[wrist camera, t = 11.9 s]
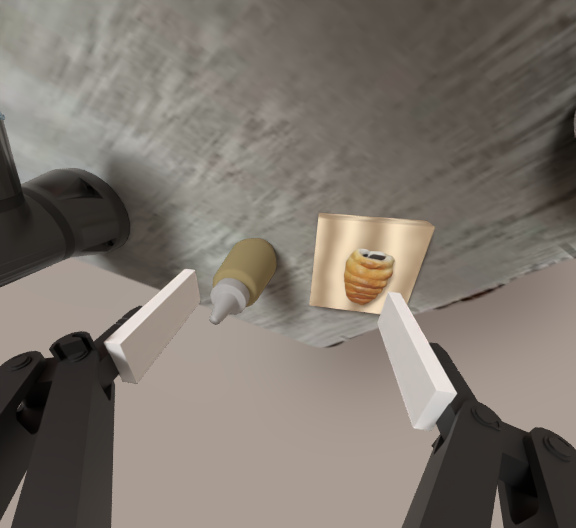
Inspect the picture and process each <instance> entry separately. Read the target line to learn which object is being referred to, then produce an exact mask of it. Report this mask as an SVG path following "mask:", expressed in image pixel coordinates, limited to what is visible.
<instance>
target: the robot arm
mask: <svg viewBox="0 0 576 528" xmlns="http://www.w3.org/2000/svg"><path fill="white" fill-rule="evenodd" d="M3 120H5V117H4V115H3V114H2V113H1V112H0V287H2V286H5V285H7V284H9V283H11V282H14V281H16V280H18V279H21V278H23V277H26V276H28V275H30V274H32V273H35V272H37V271H39V270H41V269H44V268H46V267H49V266H51V265H53V264H55V263H58V262H60V261H62V260H65V259H67V258H70V257H78V256H86V255H95V254H103V253H107V252H110V251H112V250H114V249H117V248H119V247H120V246H122V245H123V244H124V243H125V242H126V240H127V238H128V235H129V219H128V215H127V213H126V210H125V208H124V206H123V204H122V202H121V200H120V199H119V197H118V196H117V195H116V193H115V192H114V191H113V190H112V189H111V188H110V187H109V186H108V185H107V184H106V183H105V182H104V181H102V180H101V179H100V178H98V177H97V176H95V175H93V174H92V173H90V172H87V171H85V170H81V169H76V168H68V169H56V170H52V171H49V172H47V173H45V174H43V175H40V176H38V177H36V178H34V179H32V180H30V181H28V182H25V183H23V184H21V183H20V180H19V176H18V173H17V169H16V166H15V162H14V159H13V155H12V152H11V148H10V144H9V140H8V136H7V133H6V129H5V125H4V121H3ZM200 302H201V301H200V295H199V289H198V283H197V277H196V271H195V270H191V269H184V270H183V271H182V272H181V273H180V274H179V275H177V276H176V277H175V278H174V279H173V280H172V281H171V282H170V283H169V284H167V285H166V286H165V287H164V288H163V289H162V290H161V291H160V292H159V293H158V294H156V295H155V296H154V297H153V298H152V299H151V300H150V301H149V302H148V303H147V304H146V305H144V306H138V307H136V308H134V309H132V310H130V311H129V312H128V313H127V314H125V315H124V316H123V317H122V319H120V320H118V322H116V324H114V325H113V326H111V327H110V328H109V329H108V330H107V331H106V332H104V333H103V334H102V335H101V336H100V337H99V338H98V339H96V340H95V341H94V342H93V340H92V338H91V336H90V334H89V333H87V332H74V333H71V334H68V335H66V336H64V337H62V338H60V339H58V340H57V341H56V342H54V343H53V344H52V346H51V347H50V349H49V350H50V352H51V353H52V355H53V356H54V357H53V358H44V357H43V355H42V354H41V353H40V352H38V351H31V352H26V353H23V354H20V355H17V356H15V357H13V358H11V359H9V360H8V361H6V362H5V363H4V364H2V365H1V366H0V520H1V518H2V516H3V515H4V512H5V511H6V509H7V507H8V504H9V503H10V501H11V499H12V497H13V495H14V494H15V492H16V490H17V488H18V486H19V484H20V482H21V480H22V478H23V476H24V474H25V473H26V471H27V473H26V476H25V480H24V484H23V487H22V490H21V494H20V498H19V501H18V505H17V508H16V512H15V515H14V519H13V522H12V526H11V528H111V511H112V475H113V473H112V472H113V439H114V437H113V436H114V403H115V384H114V381H113V380H114V379H115V378H116V377H117V376H118V375H120V377H121V379H122V381H123V382H128V383H134V384H137V383H138V382H139V381H140V380H141V378H142V377H143V375H144V374H145V373H146V372H147V370H148V369H149V368H150V367H151V365H152V364H153V363H154V361H155V360H156V359H157V357H158V356H159V354H160V353H161V352H162V351H163V349H164V348H165V347H166V346H167V344H168V343H169V342H170V341H171V339H172V338H173V336H174V335H175V334H176V333H177V331H178V330H179V329H180V328H181V326H182V325H183V324H184V322H185V321H186V320H187V318H188V317H189V316H190V314H191V313H192V312H193V310H194V309H195V308H196V307H197V305H198V304H199V303H200ZM378 326H379V329H380V332H381V335H382V338H383V341H384V344H385V347H386V349H387V353H388V355H389V359H390V362H391V365H392V367H393V371H394V374H395V377H396V379H397V382H398V385H399V388H400V391H401V394H402V397H403V400H404V403H405V406H406V409H407V412H408V415H409V418H410V421H411V424H412V426H413V428H416V429H422V430H429V431H431V430H432V429H433V427H434V426H435V424H437V427H438V429H439V431H440V435H439V437H438V438H437V439H436V440H435V442H434V443H433V445H432V447H433V451H432V453H431V456H430V458H429V461H428V463H427V466H426V468H425V471H424V473H423V476H422V478H421V481H420V483H419V486H418V488H417V491H416V493H415V496H414V498H413V501H412V503H411V506H410V508H409V511H408V513H407V516H406V518H405V521H404V523H403V526H402V528H491V521H492V515H493V509H494V502H495V496H496V489H497V485H498V492H499V499H500V506H501V512H502V519H503V526H504V528H576V450H575V449H574V447H573V446H572V445H571V444H569V443H568V442H567V441H566V440H564V439H563V438H562V437H560V436H559V435H557V434H555V433H554V432H552V431H550V430H547V429H544V428H536V427H535V428H534V429H532V430H531V431H530V432H529V433H528V432H526V431H523V430H521V429H518V428H516V427H514V426H511V425H509V424H507V423H504V422H502V421H501V419H500V418H499V417H498V416H497V415H496V414H495V412H494V411H492V410H491V409H490V408H488V407H487V406H486V405H484V404H482V403H480V402H478V401H477V399H476V398H475V396H474V395H473V393H472V391H471V390H470V388H469V387H468V385H467V383H466V382H465V380H464V379H463V377H462V376H461V374H460V372H459V371H457V368H456V366H455V364H454V363H453V362H452V360H451V358H450V357H449V355H448V353H447V352H446V351H445V350H444V349H443V348H442V347H441V346H440V345H439V344H437V343H429V342H428V341H427V340H426V338H425V336H424V334H423V332H422V331H421V329H420V327H419V325H418V324H417V322H416V320H415V318H414V317H413V315H412V313H411V311H410V310H409V308H408V306H407V304H406V303H405V301H404V299H403V297H402V295H401V294H400V293H396V292H388V293H387V296H386V299H385V302H384V305H383V308H382V311H381V314H380V317H379V320H378ZM20 404H21V405H20ZM19 405H20V406H19ZM18 407H19V408H18Z"/></svg>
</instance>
